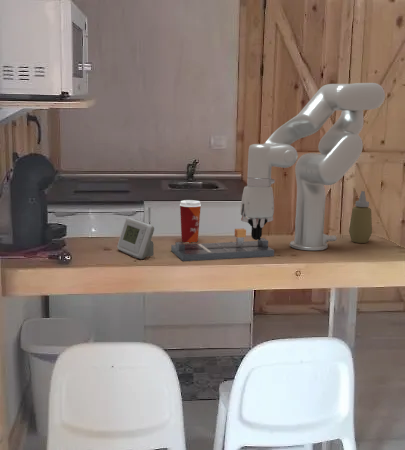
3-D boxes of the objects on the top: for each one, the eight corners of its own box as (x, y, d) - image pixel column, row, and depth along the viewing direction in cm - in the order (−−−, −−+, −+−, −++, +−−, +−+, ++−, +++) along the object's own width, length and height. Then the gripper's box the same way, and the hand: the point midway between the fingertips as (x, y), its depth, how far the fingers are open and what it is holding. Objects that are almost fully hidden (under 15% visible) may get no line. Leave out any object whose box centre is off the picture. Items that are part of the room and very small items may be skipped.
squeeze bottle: (373, 244, 230) (377, 193, 227) (350, 243, 230) (353, 192, 227) (368, 239, 238) (371, 190, 235) (346, 239, 238) (349, 189, 235)
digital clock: (115, 249, 214) (115, 217, 212) (142, 248, 218) (142, 216, 216) (130, 261, 200) (130, 226, 198) (158, 259, 203) (158, 225, 201)
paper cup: (198, 244, 225) (199, 203, 222) (176, 242, 226) (176, 202, 223) (202, 239, 232) (203, 200, 229) (181, 238, 234) (182, 199, 231)
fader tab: (242, 244, 215) (243, 228, 214) (245, 246, 212) (246, 229, 211) (234, 244, 214) (234, 228, 213) (236, 246, 212) (237, 230, 211)
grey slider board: (257, 246, 223) (257, 235, 222) (273, 256, 210) (274, 243, 209) (171, 250, 214) (171, 238, 213) (182, 261, 201) (183, 248, 200)
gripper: (275, 181, 217) (272, 236, 220) (232, 181, 212) (230, 237, 216) (285, 184, 210) (282, 240, 213) (241, 184, 205) (238, 242, 209)
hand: (256, 239), depth 214 cm, fingers closed
